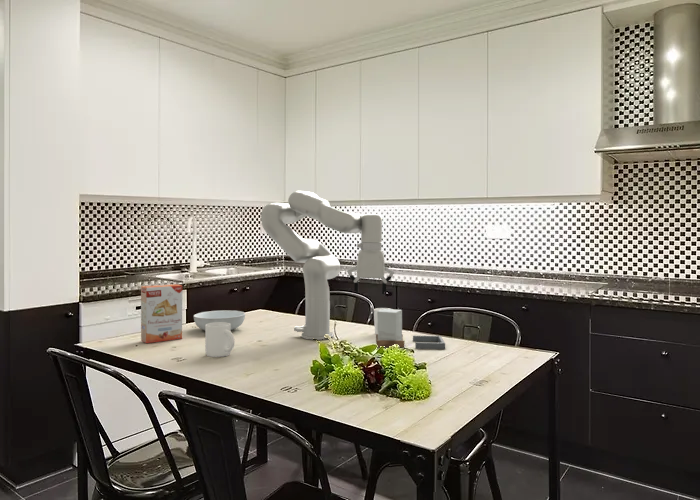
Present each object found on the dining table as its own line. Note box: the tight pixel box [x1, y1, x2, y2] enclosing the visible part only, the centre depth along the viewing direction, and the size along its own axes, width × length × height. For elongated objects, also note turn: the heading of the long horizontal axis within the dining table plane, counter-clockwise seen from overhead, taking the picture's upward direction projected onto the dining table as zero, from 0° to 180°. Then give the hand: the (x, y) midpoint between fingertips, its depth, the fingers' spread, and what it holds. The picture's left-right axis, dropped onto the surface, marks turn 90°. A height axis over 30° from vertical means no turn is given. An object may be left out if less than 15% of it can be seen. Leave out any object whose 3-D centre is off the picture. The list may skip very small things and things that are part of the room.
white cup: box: [373, 307, 391, 335], centre depth 218 cm, size 8×8×10 cm
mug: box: [204, 322, 236, 358], centre depth 180 cm, size 12×8×10 cm
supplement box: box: [377, 308, 403, 340], centre depth 199 cm, size 7×7×13 cm
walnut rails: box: [375, 333, 405, 348], centre depth 199 cm, size 10×12×2 cm
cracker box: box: [140, 283, 183, 344], centre depth 203 cm, size 14×6×21 cm, turn 131°
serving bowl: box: [193, 309, 246, 331], centre depth 224 cm, size 21×21×7 cm
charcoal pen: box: [412, 335, 446, 350], centre depth 198 cm, size 10×13×2 cm
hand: (370, 293), depth 199 cm, fingers open, 9 cm apart
